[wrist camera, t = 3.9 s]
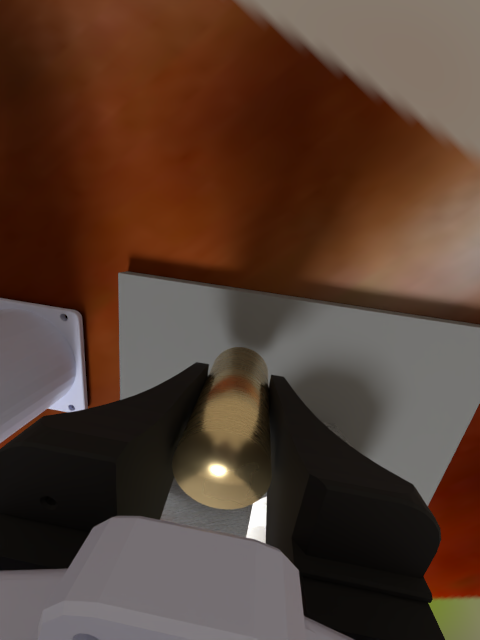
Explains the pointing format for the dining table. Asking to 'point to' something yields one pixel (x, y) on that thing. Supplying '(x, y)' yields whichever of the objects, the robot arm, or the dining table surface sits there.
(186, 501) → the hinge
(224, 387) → the pin
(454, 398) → the mat
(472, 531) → the dining table surface
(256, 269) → the dining table surface
